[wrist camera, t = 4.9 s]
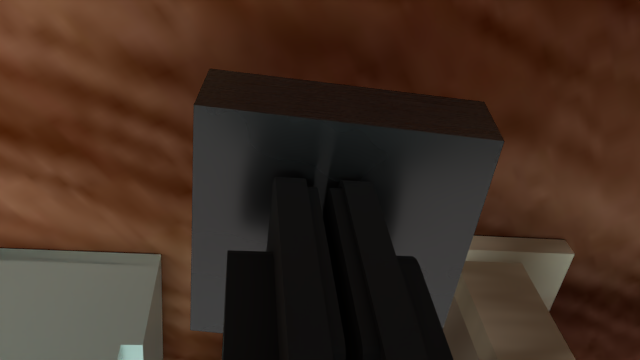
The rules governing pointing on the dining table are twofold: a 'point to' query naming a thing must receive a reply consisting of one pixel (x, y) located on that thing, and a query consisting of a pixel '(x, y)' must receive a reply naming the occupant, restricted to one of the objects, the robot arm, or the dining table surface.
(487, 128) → the track
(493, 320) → the stand
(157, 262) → the mint green storage bin
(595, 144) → the dining table surface
